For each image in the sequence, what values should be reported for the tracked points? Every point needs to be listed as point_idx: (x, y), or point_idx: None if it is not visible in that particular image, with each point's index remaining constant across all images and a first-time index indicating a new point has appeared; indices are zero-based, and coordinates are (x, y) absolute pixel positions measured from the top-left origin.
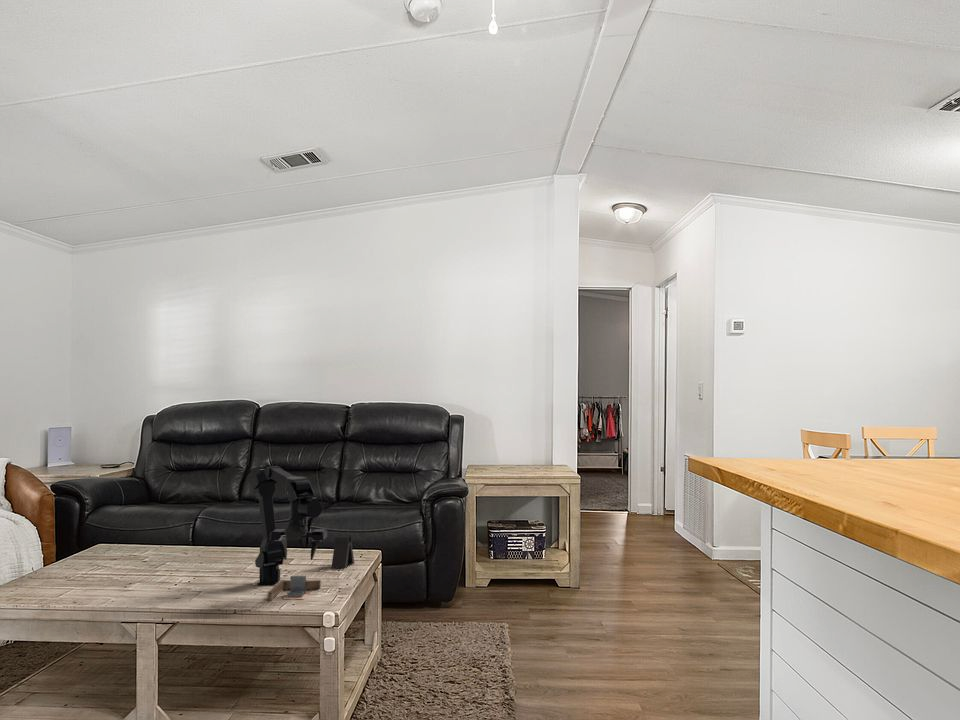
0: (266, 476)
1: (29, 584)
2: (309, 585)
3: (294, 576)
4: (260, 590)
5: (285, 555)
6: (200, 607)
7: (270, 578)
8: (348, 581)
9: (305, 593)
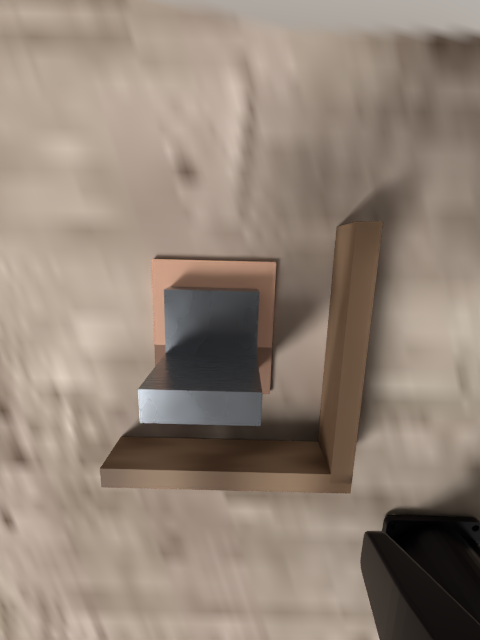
0: None
1: None
2: (172, 452)
3: (230, 398)
4: (444, 431)
5: (400, 601)
6: None
7: (429, 552)
8: (18, 560)
9: None
